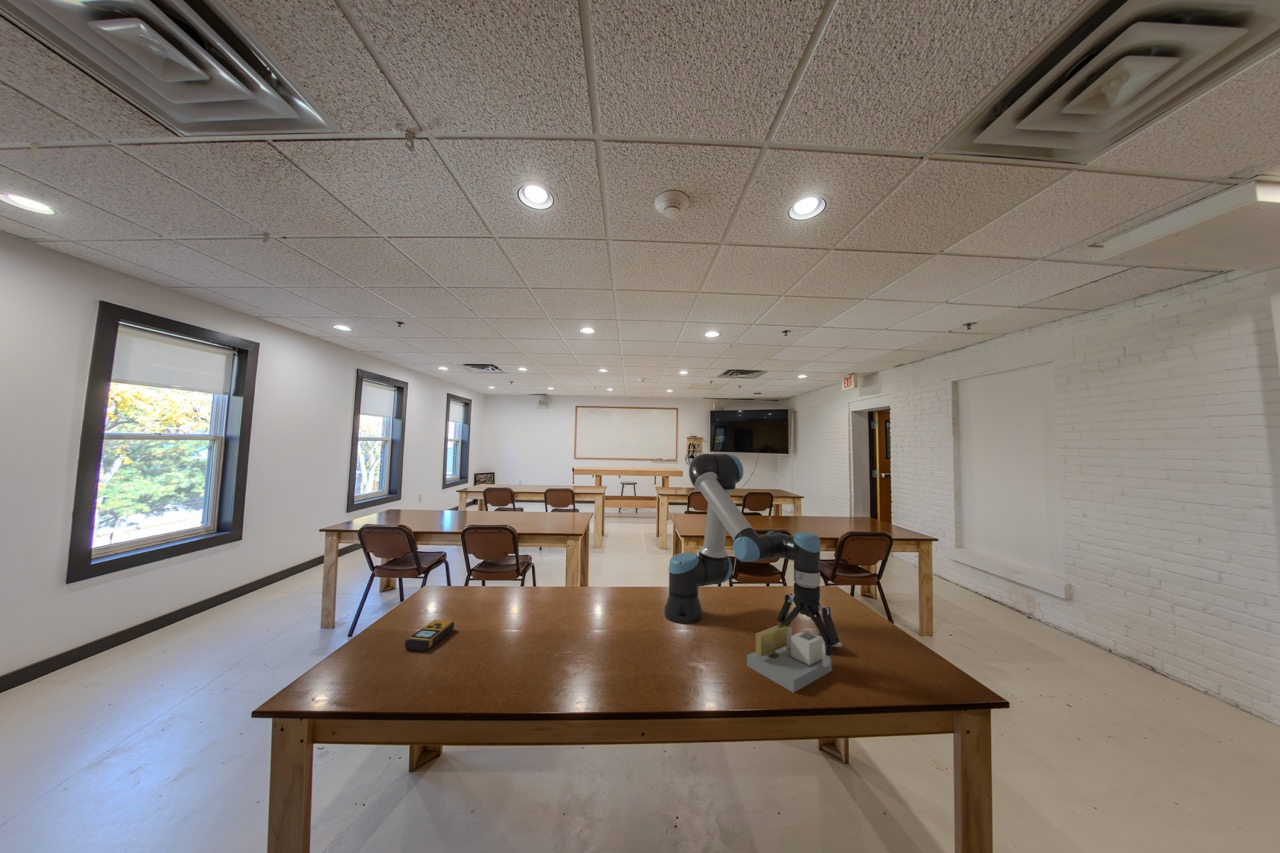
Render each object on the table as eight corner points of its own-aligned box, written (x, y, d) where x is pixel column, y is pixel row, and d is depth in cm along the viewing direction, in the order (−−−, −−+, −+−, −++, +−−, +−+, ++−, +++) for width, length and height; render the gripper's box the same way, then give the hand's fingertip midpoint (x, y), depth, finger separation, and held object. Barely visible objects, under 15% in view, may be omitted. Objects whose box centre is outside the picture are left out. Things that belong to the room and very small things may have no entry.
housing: (747, 667, 121) (747, 654, 121) (785, 649, 132) (785, 638, 133) (793, 693, 108) (793, 679, 108) (832, 672, 119) (831, 659, 120)
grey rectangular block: (791, 656, 121) (791, 635, 121) (806, 649, 126) (805, 629, 126) (809, 665, 116) (809, 643, 116) (824, 657, 121) (823, 636, 121)
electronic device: (455, 629, 141) (456, 619, 141) (428, 651, 126) (428, 640, 126) (433, 627, 142) (433, 617, 142) (403, 649, 126) (404, 638, 127)
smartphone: (820, 645, 129) (820, 642, 130) (805, 634, 144) (805, 631, 144) (843, 647, 129) (842, 644, 129) (825, 635, 144) (825, 632, 144)
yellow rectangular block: (761, 661, 117) (761, 636, 118) (755, 658, 119) (755, 633, 119) (787, 649, 125) (787, 625, 125) (781, 646, 126) (781, 623, 127)
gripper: (766, 575, 130) (765, 643, 129) (838, 598, 110) (838, 679, 109) (780, 571, 134) (779, 637, 133) (852, 593, 115) (852, 671, 113)
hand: (806, 656), depth 121 cm, fingers open, 12 cm apart
